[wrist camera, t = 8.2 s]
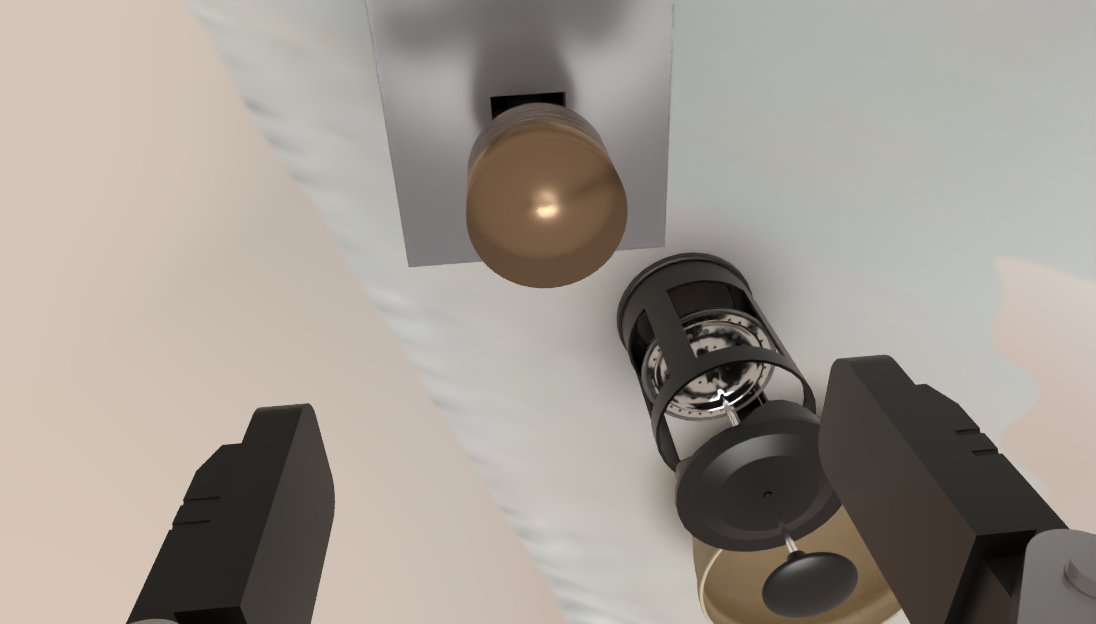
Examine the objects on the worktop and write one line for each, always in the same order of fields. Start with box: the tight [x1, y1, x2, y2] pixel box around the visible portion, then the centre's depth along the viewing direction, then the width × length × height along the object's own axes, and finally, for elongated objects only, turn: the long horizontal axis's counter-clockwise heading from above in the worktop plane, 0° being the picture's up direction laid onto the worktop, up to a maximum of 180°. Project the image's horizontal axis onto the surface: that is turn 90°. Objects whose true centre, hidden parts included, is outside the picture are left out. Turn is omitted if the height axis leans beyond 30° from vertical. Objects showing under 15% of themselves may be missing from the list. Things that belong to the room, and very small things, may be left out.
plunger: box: [466, 93, 628, 288], centre depth 29 cm, size 6×6×24 cm
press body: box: [365, 0, 674, 267], centre depth 32 cm, size 9×9×19 cm
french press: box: [617, 253, 858, 619], centre depth 42 cm, size 12×9×23 cm
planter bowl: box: [693, 504, 903, 624], centre depth 55 cm, size 16×16×11 cm
